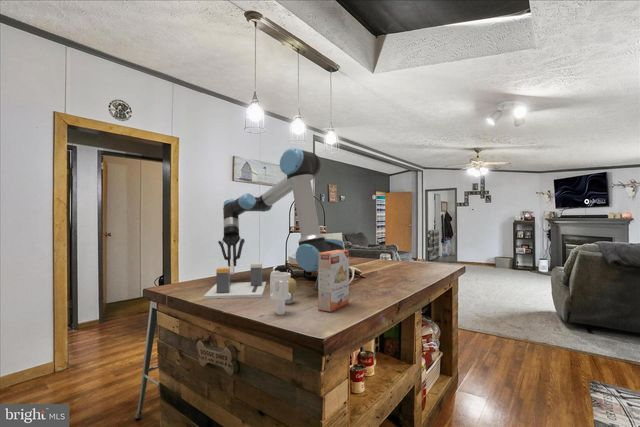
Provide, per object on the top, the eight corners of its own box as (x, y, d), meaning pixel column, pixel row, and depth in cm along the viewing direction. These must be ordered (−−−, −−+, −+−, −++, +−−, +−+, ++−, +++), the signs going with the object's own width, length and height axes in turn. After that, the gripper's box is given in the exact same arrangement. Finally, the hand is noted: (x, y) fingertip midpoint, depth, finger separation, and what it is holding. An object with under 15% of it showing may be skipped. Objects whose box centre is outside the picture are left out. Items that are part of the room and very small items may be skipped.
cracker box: (331, 313, 117) (331, 253, 117) (317, 310, 120) (317, 252, 120) (350, 303, 128) (349, 249, 128) (336, 301, 132) (336, 249, 132)
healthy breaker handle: (261, 285, 156) (261, 264, 156) (250, 285, 155) (250, 264, 155) (262, 283, 160) (262, 262, 160) (251, 283, 159) (251, 263, 159)
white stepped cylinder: (266, 312, 117) (266, 270, 117) (284, 309, 121) (283, 268, 121) (277, 317, 112) (276, 273, 112) (294, 313, 116) (294, 270, 116)
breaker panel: (262, 297, 139) (262, 294, 139) (203, 299, 137) (203, 295, 137) (266, 284, 165) (266, 281, 165) (216, 285, 163) (216, 282, 163)
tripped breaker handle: (228, 292, 142) (228, 269, 142) (216, 292, 141) (216, 269, 141) (230, 290, 146) (230, 267, 146) (218, 290, 145) (218, 267, 145)
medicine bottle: (289, 291, 149) (289, 265, 149) (286, 295, 142) (286, 267, 142) (273, 291, 150) (273, 265, 150) (269, 295, 143) (269, 267, 143)
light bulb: (278, 305, 127) (278, 279, 127) (282, 300, 133) (282, 275, 133) (294, 305, 126) (294, 279, 126) (298, 301, 133) (298, 276, 133)
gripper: (245, 230, 173) (247, 273, 162) (219, 232, 171) (219, 276, 161) (243, 223, 166) (245, 268, 156) (216, 226, 165) (216, 271, 154)
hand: (232, 272), depth 158 cm, fingers closed
